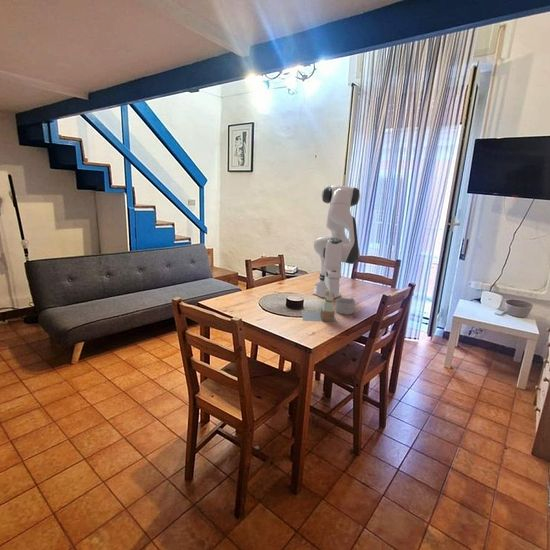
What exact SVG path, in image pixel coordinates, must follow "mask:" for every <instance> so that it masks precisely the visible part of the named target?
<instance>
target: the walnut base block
mask: <svg viewBox="0 0 550 550" xmlns="http://www.w3.org/2000/svg"><path fill="white" fill-rule="evenodd" d="M320 312H321V316H320V317H321V319H322V321H334V316H335V311H334V310H333V312H324V311H323V308H322V307H320Z"/></svg>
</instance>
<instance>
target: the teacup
mask: <svg viewBox="0 0 550 550" xmlns="http://www.w3.org/2000/svg"><path fill="white" fill-rule="evenodd" d="M355 306H356V300H355V299H354V298H347V297H341V298H336V299H335V311H336V312H337V313H338V314H340V315H347V316H349V315H352V314H353V313H354V312H355V309H356V308H355Z"/></svg>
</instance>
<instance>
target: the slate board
mask: <svg viewBox="0 0 550 550" xmlns="http://www.w3.org/2000/svg"><path fill="white" fill-rule="evenodd" d="M300 313H301V318H302V321H303V322H304V321H306V322H324V323H325V322H326V323H338V320H337V319H336V316H335V315H334V321H322V319H321V317H320V316H321V311H309V310H300Z"/></svg>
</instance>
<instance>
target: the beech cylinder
mask: <svg viewBox="0 0 550 550" xmlns="http://www.w3.org/2000/svg"><path fill="white" fill-rule="evenodd" d="M328 295H329V290H326V291H325V298H324V299H325V300H326V301H334V298H333V297H334V293H333V295H332V299H329V297H328Z"/></svg>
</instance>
